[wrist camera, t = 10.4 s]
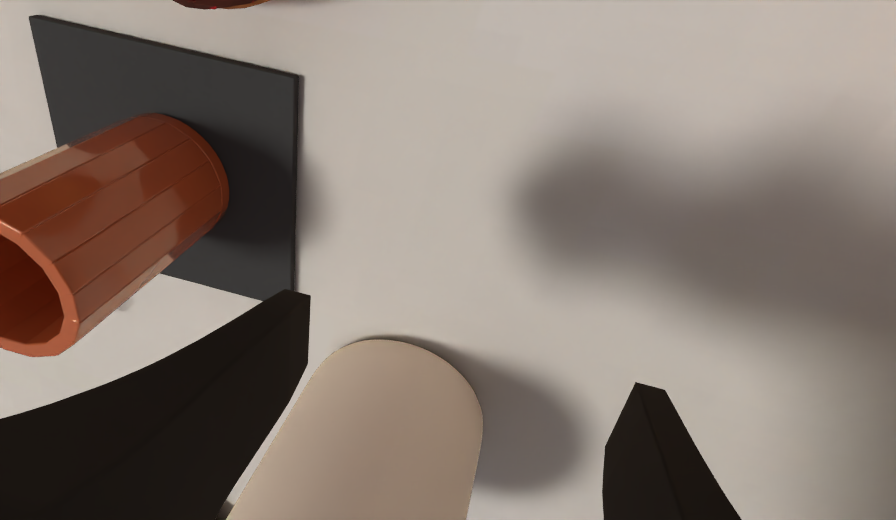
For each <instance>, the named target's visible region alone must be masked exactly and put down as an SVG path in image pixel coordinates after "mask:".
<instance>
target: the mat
mask: <svg viewBox="0 0 896 520" xmlns="http://www.w3.org/2000/svg"><path fill="white" fill-rule="evenodd" d="M29 21H30V25H31V30H32V34H33V39H34V43H35V48H36V53H37V57H38V62H39V66H40V71H41V75H42V80H43V84H44V89H45V94H46V98H47V103H48V107H49V112H50V116H51V121H52V125H53V130H54V135H55V139H56V144H57V148H59V147H61V146H63V145H65V144H68V143H70V142H72V141H74V140H77V139H79V138H81V137H83V136H86V135H88V134H90V133H92V132H95V131H97V130H99V129H101V128H104V127H106V126H108V125H110V124H113V123H115V122H117V121H119V120H124V119H127V118H129V117H131V116H134V115H137V114H142V113H157V114H163V115H166V116H170V117H173V118H175V119H177V120H179V121H181V122H183V123H185V124H187V125H188V126H190V127H191V128H192V129H194V130H195V131H196V132H198V133H199V134H200V135H201V136H202V137H203V138H204V139H205V140H206V141H207V142H208V143H209V144H210V146H211V147H212V148H213V149H214V151H215V152H216V154H217V155H218V157H219V159H220V160H221V162H222V165H223V167H224V169H225V172H226V175H227V178H228V182H229V203H228V207H227V210H226V212H225V214H224V216H223V218H222V219H221V220H220V221H219V222H218V223H217V224H216V225H215V226H214V227H213V228H212V229H211V230H210V231H209V232H207V233H206V234H205V235H204V236H203V237H201V238H200V239H199V240H198V241H197V242H196V243H194V244H193V245H192V246H191V247H190V248H188V249H187V250H186V251H185V252H184V253H182V254H181V255H180V256H179V257H178V258H177V259H175V260H174V261H173V262H172V263H171V264H169V265H168V266H167V267H166V268H165V269H163V270H162V271H161V272H160V273H161V274H165V275H168V276H172V277H176V278H180V279H183V280H187V281H191V282H194V283H198V284H202V285H206V286H209V287H213V288H217V289H220V290H224V291H228V292H232V293H235V294H239V295H243V296H246V297H250V298H254V299H258V300H261V301H265V300H267V299H268V298H270V297H272V296H273V295H275V294H277V293H278V292H280V291H282V290H284V289H287V290H291V291H294V271H295V226H296V181H297V135H298V90H299V76H298V75H294V74H290V73H286V72H281V71H277V70H273V69H268V68H264V67H260V66H255V65H251V64H247V63H242V62H238V61H234V60H229V59H225V58H221V57H216V56H212V55H208V54H203V53H199V52H195V51H191V50H186V49H182V48H178V47H173V46H169V45H165V44H160V43H156V42H152V41H147V40H143V39H139V38H134V37H130V36H126V35H121V34H117V33H113V32H108V31H104V30H100V29H95V28H91V27H87V26H83V25H78V24H74V23H70V22H65V21H61V20H57V19H52V18H48V17H44V16H39V15H34V16H29Z"/></svg>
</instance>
